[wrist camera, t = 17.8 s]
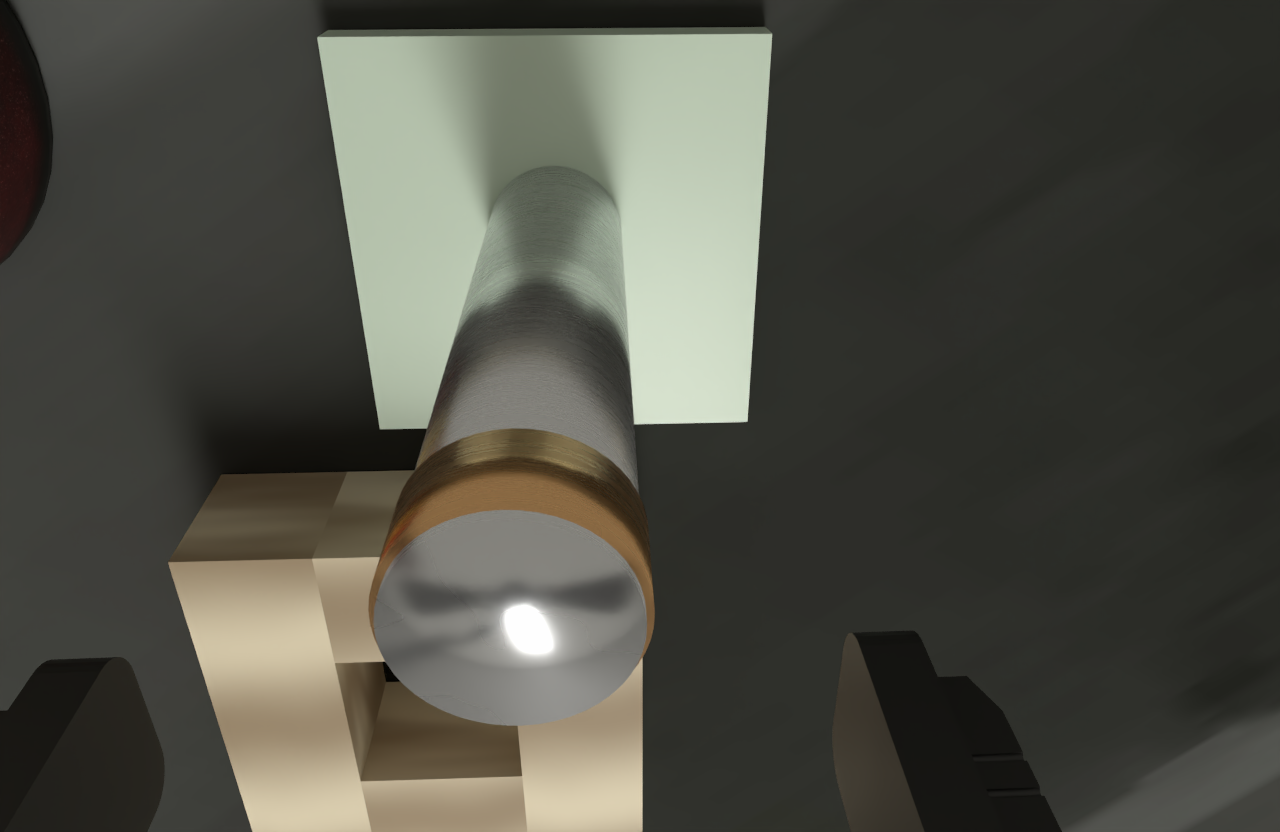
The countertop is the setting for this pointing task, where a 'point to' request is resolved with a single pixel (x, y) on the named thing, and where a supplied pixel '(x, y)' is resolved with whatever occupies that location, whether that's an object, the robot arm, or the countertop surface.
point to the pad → (569, 137)
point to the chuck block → (367, 683)
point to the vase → (21, 135)
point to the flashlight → (526, 479)
